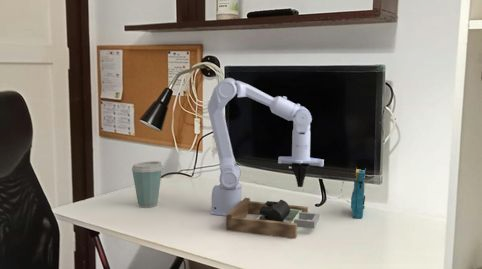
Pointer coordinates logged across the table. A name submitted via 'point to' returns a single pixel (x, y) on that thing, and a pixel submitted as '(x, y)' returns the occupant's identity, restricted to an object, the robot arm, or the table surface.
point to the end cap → (275, 211)
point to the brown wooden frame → (259, 220)
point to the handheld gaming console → (358, 195)
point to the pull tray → (299, 215)
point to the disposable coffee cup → (147, 182)
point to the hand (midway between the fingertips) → (300, 186)
